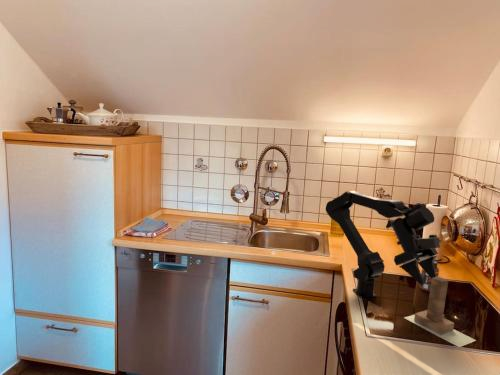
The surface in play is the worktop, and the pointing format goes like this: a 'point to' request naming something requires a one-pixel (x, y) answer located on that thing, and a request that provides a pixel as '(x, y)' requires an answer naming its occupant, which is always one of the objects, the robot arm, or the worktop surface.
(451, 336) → the board
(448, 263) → the worktop surface
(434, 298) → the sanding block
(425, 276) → the supplement bottle
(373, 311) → the shard
